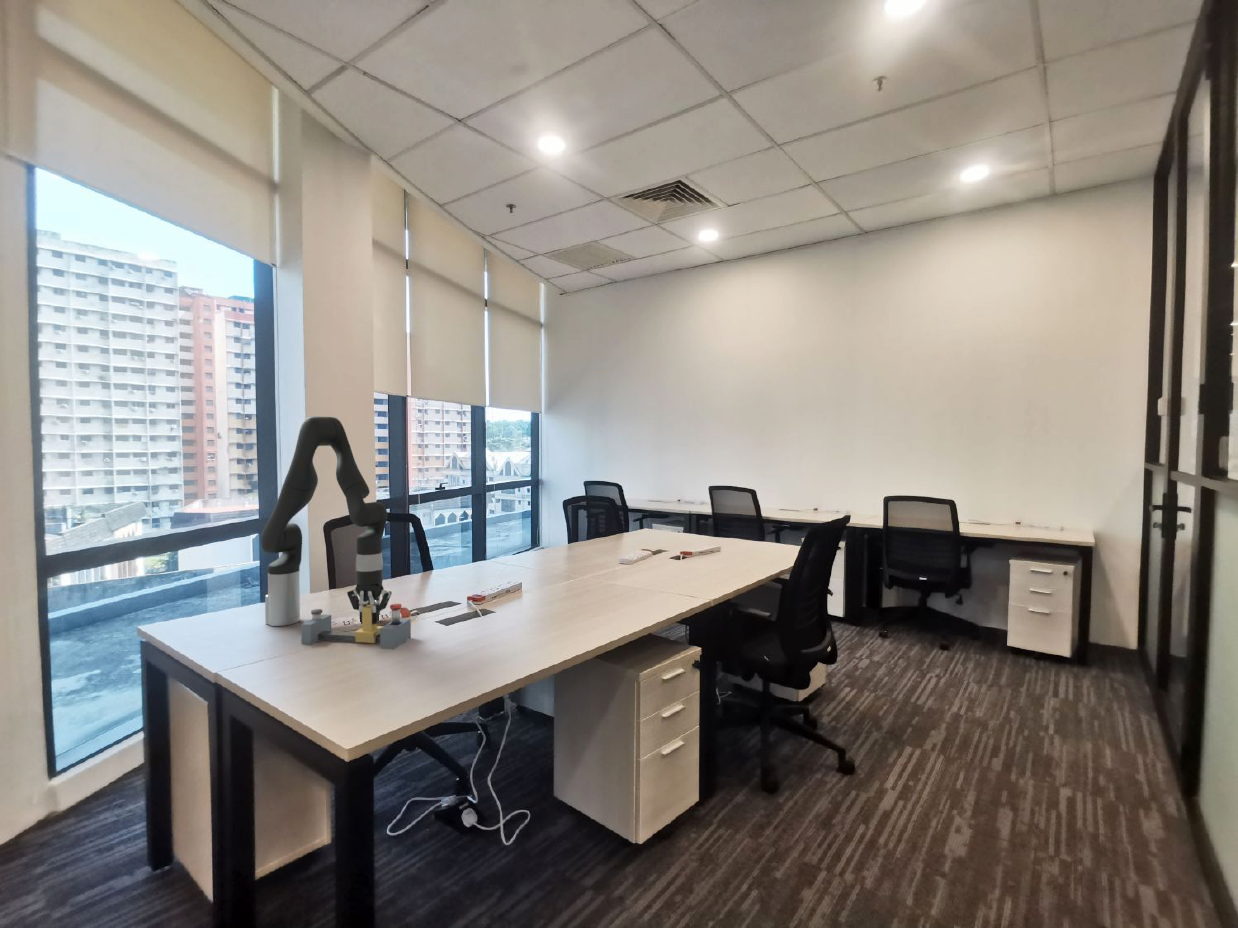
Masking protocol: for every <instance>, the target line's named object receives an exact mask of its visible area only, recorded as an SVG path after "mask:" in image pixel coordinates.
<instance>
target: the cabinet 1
mask: <svg viewBox="0 0 1238 928" xmlns="http://www.w3.org/2000/svg"><path fill="white" fill-rule="evenodd" d="M310 612H311V613H310V614H311V616H312V617H311V619H310V620H307V621H306V622H303V623H301V624H300V625H301V626H300V628H301V629H300V631H301V633H300V634H301V642H300V643H301V645H312V644H314V643H316V642H319V640H318V634H319V633H321V632H323V631H332V614H324V613H323V609H321V608H316V609H312V610H311V611H310Z"/></svg>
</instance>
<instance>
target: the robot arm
mask: <svg viewBox="0 0 1238 928" xmlns="http://www.w3.org/2000/svg"><path fill="white" fill-rule="evenodd" d="M326 446H327V447H331V448H332V450H333V452H335V456H336V469H335V470H336V471H335V477H336V481H337V483H338V486H339V488H340V490H341V491H342V493H343V495H344V497H345V500H346V506H347V510H348V511H347V512H348V515H349V518H350V520H351V522H352V523H353V524H354V525H355V526H357V527H359V528H364V527H366V529H365V531H364V532H363V533H361V534H359V535H358V536H357V538H356V558H355V559H356V560H355V584H356V585H355V589H352V590H349V591H347V592H346V593H347V594H346V595H347V596H348V600H349V601H350V604H351V607H352V609H353V610H355V611H358V612H359V619H360V622H361V624H362V608H363V607H365V606H367V603H368V602H369V601H370V605H371V606H372V611H373V613H372V624H373V625H375V624H377V625H378V622H379V612H380V613H381V611H383V610H384V609H386V608H387V605H388V603H389V601H390V599H391V596H392V591H391V590H389V591H388V590H385V589H384V586H383V581H384V580H383V579H384V575H383V573H384V572H383V570H384V567H383V566H384V563H383V562H384V561H383V550H382V549H383V545H382V543H383V540H382V539H383V537H384V533H385V530H386V525H387V522H388V521H387V520H388V511H387V508H386V506H385V505H384V504H383V503H382V502H379V501H371V502H365V501H364V499H366V498H367V497H368V496H369V495H370V492H371V491H370V488H369V486H368V484H367V482H366V480H365V478H364V477H363V475H362V473H361V471H360V470H359V467H358V465H357V463H356V460H355V456H354V454H353V451H352V448H351V445H350V442H349V439H348V435H347V433H346V431H345V428H344V426H343V424H342V422H341V420H339V419H338V418H337V417H332V416H309V417H307V418H305V419H304V420H303V422H302V424H301V426H300V428H299V432H298V436H297V441H296V445H295V449H294V453H293V457H292V459H291V462H290V466H289V469H288V471H287V474H286V476H285V479H284V481H283V484H282V486H281V488H280V489H281V490H280V493H279V495H278V499H277V502H276V504H275V506H274V509H273V511H272V513H271V515H270V516H269V518H268V521H267V523H266V524H265V526H264V528H263V530H262V533H261V538H260V545H261V548H262V550H263V551H264V552H265V553H267V554H279V553H282V554H281V555H280V556H279V557H278V558H277V559H275V560H273V561H272V562H271V563H269V564H268V565H267V594H266V595H265V598H264V600H265V601H264V602H265V603H264V606H265V607H264V609H265V614H264V615H265V618H264V619H265V625H268V626H271V627H272V626H273V627H284V626H289V625H292V624H293V625H294V624H296V623H298V622H300V621H301V595H300V594H301V592H300V591H301V589H300V588H301V586H300V585H301V584H300V581H301V580H300V578H301V577H300V572H301V571H300V568H301V563H302V553H303V552H302V551H303V533H302V529H301V528H300V526H299V525H298V524H297V523H290V521H291V520H292V519H293V518H294V517H296V515H297V514H298V513H299V512H300V511H302V510H303V509H304V508H305V507H306V506H307V505H308V504H309V503H310V502H311V500H312V498H313V497H314V494H315V491H316V490H317V487H318V484H319V483H318V482H319V479H318V474H317V471H316V469H315V465H314V461H313V460H314V456H315V454H316V451H317V449H318V447H326ZM379 596H380V597H379ZM379 623H380V622H379Z"/></svg>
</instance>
